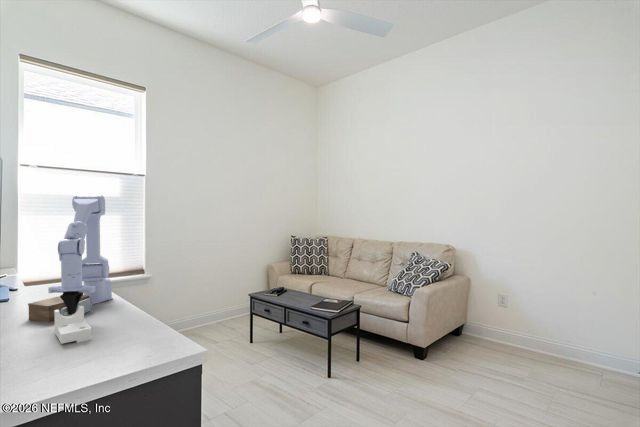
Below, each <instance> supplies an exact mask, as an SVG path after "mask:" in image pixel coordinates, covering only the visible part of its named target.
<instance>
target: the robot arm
mask: <svg viewBox="0 0 640 427" xmlns="http://www.w3.org/2000/svg"><path fill="white" fill-rule="evenodd" d="M71 202H72V203H71V206H72V208H73V211H74V212H75V214H74V220H73V222H71V223H69V224H68V225H67V226H68V227H67V229H66V231H65V234H64V237H63V239H62V240H59V241H58V245H57V254H58V258H59V259H58V260H59V262H60V268H61V269H60V270H61V272H60V274H61V275H60V276H61V277H60V278H61V280H60V281H61V285H56V286H55V285H53V286H49V287H48V294H53V293H54V294H55V293H56V294H57V293H59V294H60V293H61V294H60V295H59V296H60V298H61V299H62V300H63V301H64V303H65V305H66V307H67V310H68V313H69V315H72V314H74V313H76V309H77V306H78V303H79V301H80V299H81V297H82V295H87V296H89V298H91V305H96V304H100V303H102V302H106V301H109V300H113V299H114V297H113V292H112V291H113V290H112V288H113V287H112V286H113V284H112V281H111V279H110V278H108V277H109V275H110V266H109V259H108V258H106V257H104V256H103V255H101V223H100V222H101V216H104V215H105V213H106V200H105V197H104V196H103V194H97V195H95V194H91V195H90V194H88V195H87V194H75V195H74V196H73V197H72V201H71ZM85 244H86V245H85ZM85 246H86V247H85ZM85 249H86V251H85ZM85 252H86V255H85V257H84V258H83V255H84V253H85Z"/></svg>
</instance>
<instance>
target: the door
mask: <svg viewBox="0 0 640 427" xmlns="http://www.w3.org/2000/svg"><path fill="white" fill-rule="evenodd" d="M79 306H83V307H84V314H86V313H88V312H90V311H92V304H91V298H87V299H85V300H82V301H80V302H79V303H78V306H77V309H76V312H77V310H78V308H79ZM74 314H75V313H74ZM61 315H63V316H71V315H69V313H68V310H67V307H65V308H62V309H61ZM72 315H73V314H72Z"/></svg>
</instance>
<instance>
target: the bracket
mask: <svg viewBox="0 0 640 427" xmlns="http://www.w3.org/2000/svg"><path fill="white" fill-rule="evenodd" d="M54 313H55V321H54V334H55V335H56V337H57V338H58V340H59V343H60V345H61V344H66V343H72V342H76V343H77V344H78V343H81V342H86V341H90V340H92V327H91V326H90V325H89V324H88V322H87V321H86V320H85V313H84V307H83V306H79V308H78V310H77V312H76V313H75V314H73V315H71V316H63V315H61V314H60V311H59V310H54Z"/></svg>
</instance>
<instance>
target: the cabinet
mask: <svg viewBox="0 0 640 427" xmlns="http://www.w3.org/2000/svg"><path fill="white" fill-rule="evenodd" d="M87 298H89V296H87V295H84V294H83V295H82V297H81V299H80V301H82V300H85V299H87ZM80 301H79V302H80ZM27 306H28V320H30V321H36V322H42V323H48V324H49V323H53V322H55V313H54V310H59V311H60V314H61V309H62V308H65V307H66V305H65V303H64V301H63V300H62V299H61V298H60V295H58V296H55V297H50V298H46V299H41V300H38V301H32V302H29V303H27Z"/></svg>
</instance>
